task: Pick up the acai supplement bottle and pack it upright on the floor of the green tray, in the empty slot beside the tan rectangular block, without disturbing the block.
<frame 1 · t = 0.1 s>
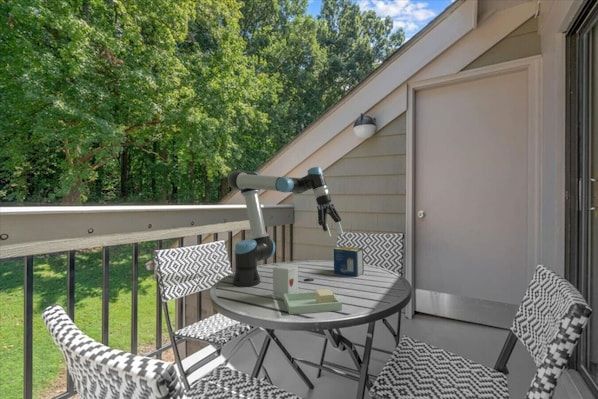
hand: (334, 235, 158), 28 cm above the table, tool tilted 20°, fingers open, 13 cm apart
protein box: (348, 273, 192), on the table
tan rectangular block: (324, 303, 137), point 1 cm above the table, touching green tray
green tray: (311, 307, 135), on the table
supplement box: (285, 298, 149), on the table
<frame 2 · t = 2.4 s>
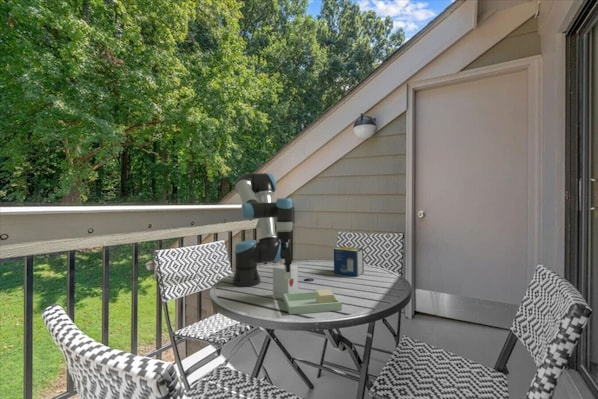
hand: (285, 275, 148), 11 cm above the table, tool pointing down, fingers open, 13 cm apart
nothing on the table moved.
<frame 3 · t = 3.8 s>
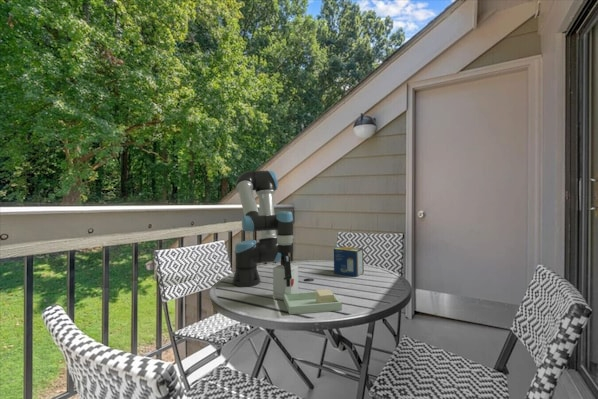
hand: (286, 289, 148), 4 cm above the table, tool pointing down, fingers closed on supplement box, 12 cm apart
supplement box: (286, 298, 148), on the table, touching gripper
everything else where it was.
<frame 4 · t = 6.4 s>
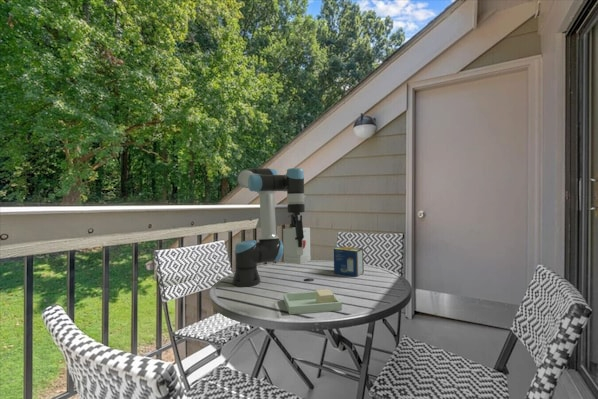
hand: (297, 252, 137), 23 cm above the table, tool pointing down, fingers closed on supplement box, 12 cm apart
supplement box: (297, 262, 138), point 19 cm above the table, touching gripper
everything else where it was.
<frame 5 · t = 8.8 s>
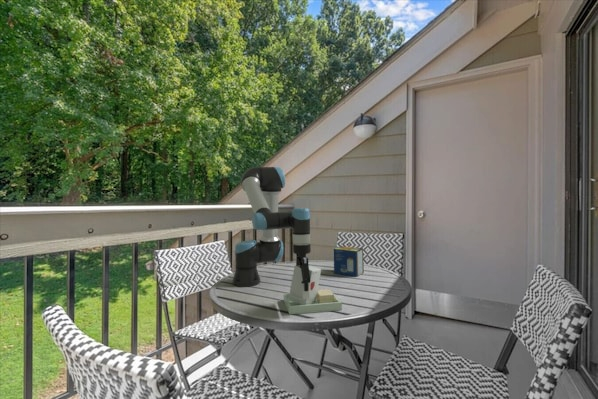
hand: (302, 293, 135), 6 cm above the table, tool pointing down, fingers closed on supplement box, 12 cm apart
supplement box: (302, 301, 135), point 3 cm above the table, touching gripper, green tray
everything else where it was.
when the fingers open (6 cm above the table, at t = 9.7 s): supplement box stays where it is, resting on green tray.
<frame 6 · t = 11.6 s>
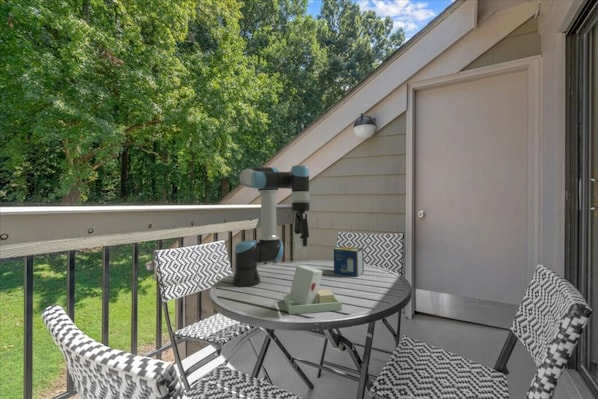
hand: (301, 251, 134), 25 cm above the table, tool pointing down, fingers open, 13 cm apart
supplement box: (301, 302, 135), point 2 cm above the table, touching green tray
everything else where it was.
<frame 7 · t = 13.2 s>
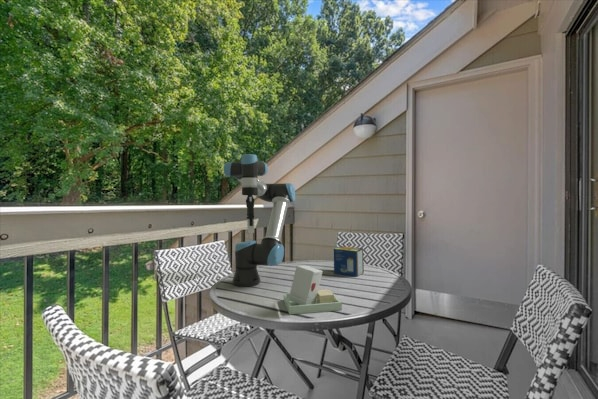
hand: (250, 231, 150), 32 cm above the table, tool pointing down, fingers open, 13 cm apart
nothing on the table moved.
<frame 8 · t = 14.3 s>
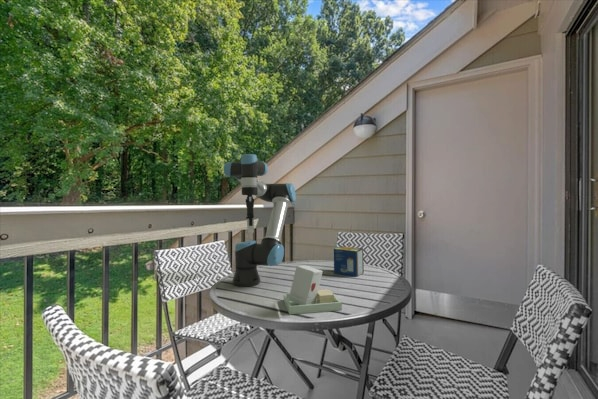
hand: (250, 231, 150), 32 cm above the table, tool pointing down, fingers open, 13 cm apart
nothing on the table moved.
at the end: supplement box inside the target area on the green tray (0.4 cm from its centre), point 2.3 cm above the green tray's base; supplement box tilted 15°; tan rectangular block moved 0.0 cm from its start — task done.
